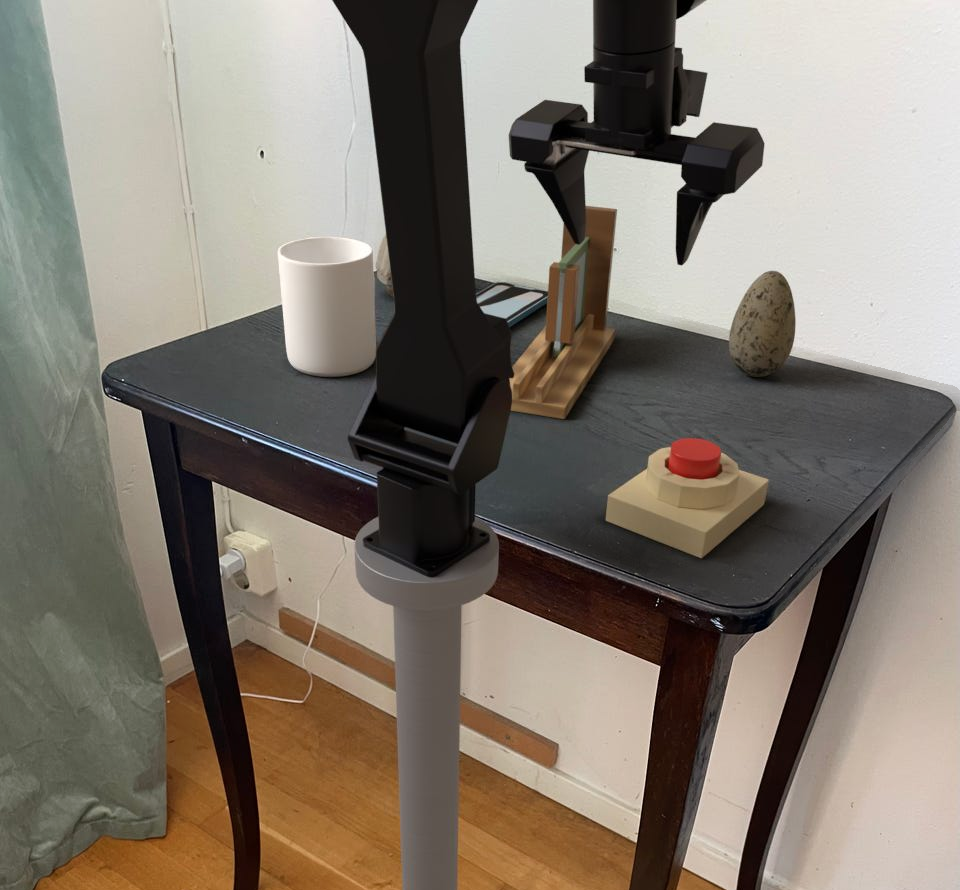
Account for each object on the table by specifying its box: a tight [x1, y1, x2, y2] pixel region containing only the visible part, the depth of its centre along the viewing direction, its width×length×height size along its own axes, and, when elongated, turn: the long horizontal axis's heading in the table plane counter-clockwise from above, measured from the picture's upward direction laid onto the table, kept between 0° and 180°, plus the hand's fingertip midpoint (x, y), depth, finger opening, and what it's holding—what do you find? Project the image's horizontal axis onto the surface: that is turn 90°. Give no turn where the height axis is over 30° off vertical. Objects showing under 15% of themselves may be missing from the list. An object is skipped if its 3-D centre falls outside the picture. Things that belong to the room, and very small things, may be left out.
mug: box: [277, 236, 377, 378], centre depth 97 cm, size 9×12×11 cm
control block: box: [605, 446, 770, 559], centre depth 76 cm, size 10×8×4 cm
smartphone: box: [476, 281, 548, 328], centre depth 111 cm, size 7×1×15 cm
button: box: [668, 437, 722, 480], centre depth 74 cm, size 4×4×2 cm
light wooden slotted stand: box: [509, 205, 618, 420], centre depth 95 cm, size 20×7×13 cm, turn 162°
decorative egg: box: [728, 270, 797, 378], centre depth 96 cm, size 6×6×10 cm
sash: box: [545, 237, 590, 357], centre depth 98 cm, size 9×2×9 cm, turn 162°
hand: (629, 252), depth 83 cm, fingers open, 9 cm apart
